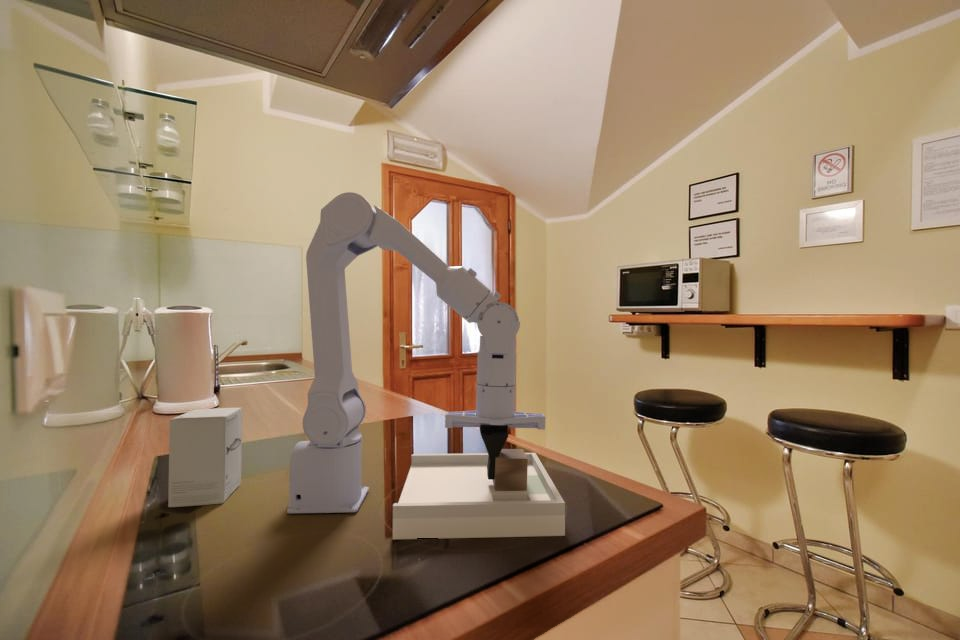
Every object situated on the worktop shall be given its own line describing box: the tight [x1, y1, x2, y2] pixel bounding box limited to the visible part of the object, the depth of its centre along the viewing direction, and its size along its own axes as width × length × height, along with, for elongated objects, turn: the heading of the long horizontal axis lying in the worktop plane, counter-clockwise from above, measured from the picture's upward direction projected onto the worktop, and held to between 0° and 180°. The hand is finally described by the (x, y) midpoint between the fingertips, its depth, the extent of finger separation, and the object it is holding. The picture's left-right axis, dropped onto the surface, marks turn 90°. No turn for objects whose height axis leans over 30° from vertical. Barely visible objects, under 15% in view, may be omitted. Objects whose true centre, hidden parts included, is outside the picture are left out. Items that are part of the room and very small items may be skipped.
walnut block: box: [493, 448, 528, 491], centre depth 60 cm, size 4×4×4 cm
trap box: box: [392, 452, 566, 540], centre depth 60 cm, size 21×20×4 cm
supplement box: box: [167, 407, 243, 508], centre depth 62 cm, size 7×7×13 cm
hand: (493, 477), depth 60 cm, fingers closed, pressing on walnut block
